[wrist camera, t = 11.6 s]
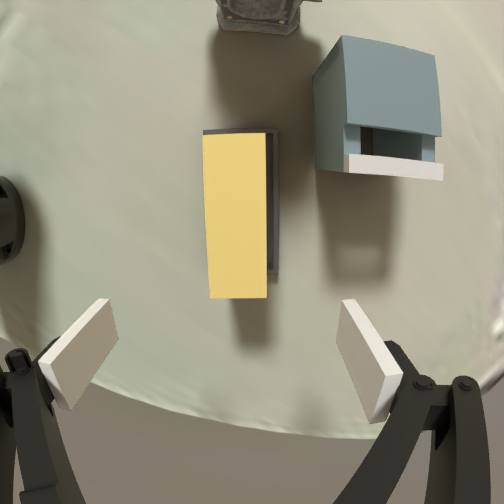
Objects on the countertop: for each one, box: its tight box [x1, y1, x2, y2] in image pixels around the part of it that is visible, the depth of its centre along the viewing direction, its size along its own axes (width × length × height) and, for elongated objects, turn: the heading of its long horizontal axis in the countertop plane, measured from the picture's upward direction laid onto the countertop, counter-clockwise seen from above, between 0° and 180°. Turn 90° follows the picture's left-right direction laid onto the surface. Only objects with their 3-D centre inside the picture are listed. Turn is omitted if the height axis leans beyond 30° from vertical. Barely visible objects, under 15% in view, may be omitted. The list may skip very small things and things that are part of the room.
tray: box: [203, 128, 279, 274], centre depth 36 cm, size 9×18×2 cm, turn 1°
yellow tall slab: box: [203, 133, 267, 298], centre depth 30 cm, size 5×14×12 cm, turn 1°
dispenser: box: [313, 35, 443, 181], centre depth 27 cm, size 9×12×14 cm
